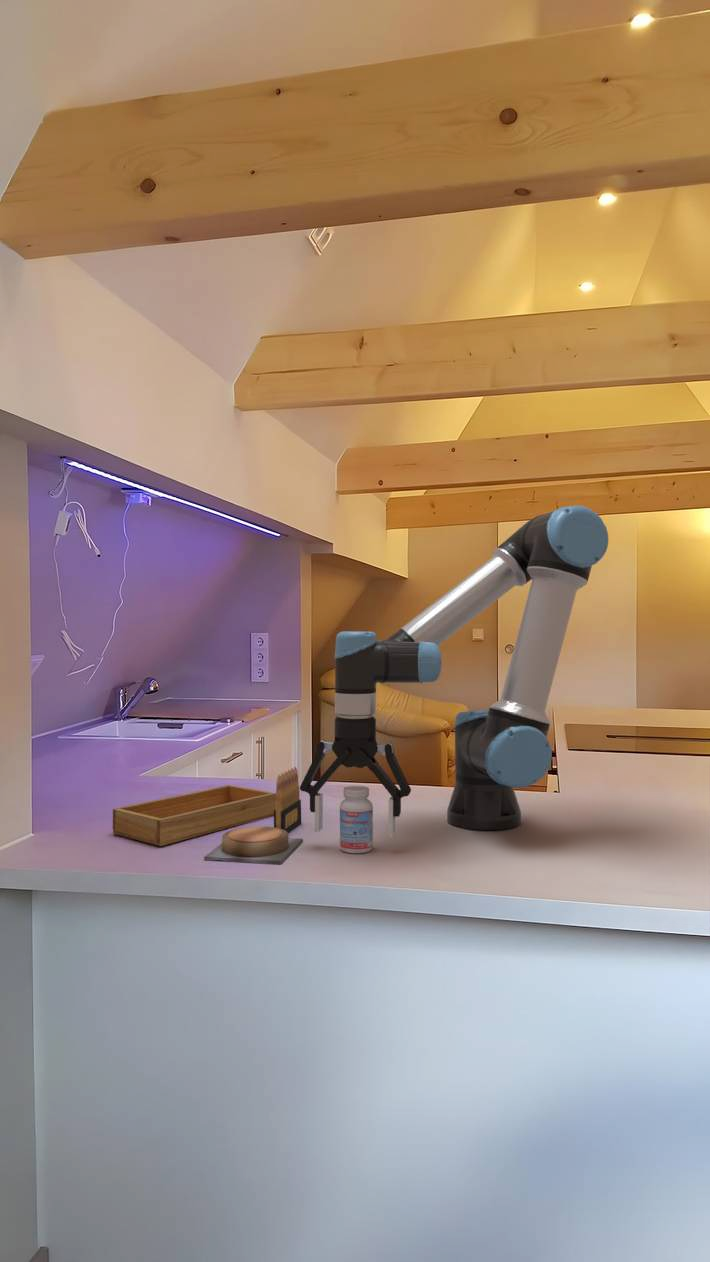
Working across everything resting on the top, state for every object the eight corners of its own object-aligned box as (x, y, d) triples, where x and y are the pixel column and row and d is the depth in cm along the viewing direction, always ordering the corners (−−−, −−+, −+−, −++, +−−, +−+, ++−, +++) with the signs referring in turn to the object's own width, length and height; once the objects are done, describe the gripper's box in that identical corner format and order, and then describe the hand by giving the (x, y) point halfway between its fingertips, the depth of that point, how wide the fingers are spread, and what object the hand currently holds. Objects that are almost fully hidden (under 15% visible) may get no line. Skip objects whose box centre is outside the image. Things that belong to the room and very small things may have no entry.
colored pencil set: (282, 837, 150) (281, 775, 150) (273, 836, 151) (272, 775, 151) (301, 823, 160) (301, 765, 160) (293, 823, 161) (292, 765, 161)
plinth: (302, 841, 147) (302, 825, 147) (280, 864, 133) (280, 846, 133) (232, 838, 150) (232, 822, 150) (204, 860, 136) (204, 842, 136)
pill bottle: (337, 853, 139) (336, 791, 139) (343, 844, 145) (342, 784, 145) (370, 855, 138) (369, 792, 138) (375, 845, 144) (374, 785, 144)
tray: (229, 807, 177) (228, 782, 177) (276, 817, 168) (276, 791, 168) (112, 837, 153) (112, 808, 153) (160, 850, 144) (159, 820, 144)
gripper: (425, 715, 143) (425, 830, 143) (295, 711, 148) (294, 823, 148) (421, 720, 135) (420, 841, 135) (283, 716, 140) (283, 833, 141)
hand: (354, 832), depth 142 cm, fingers open, 13 cm apart
